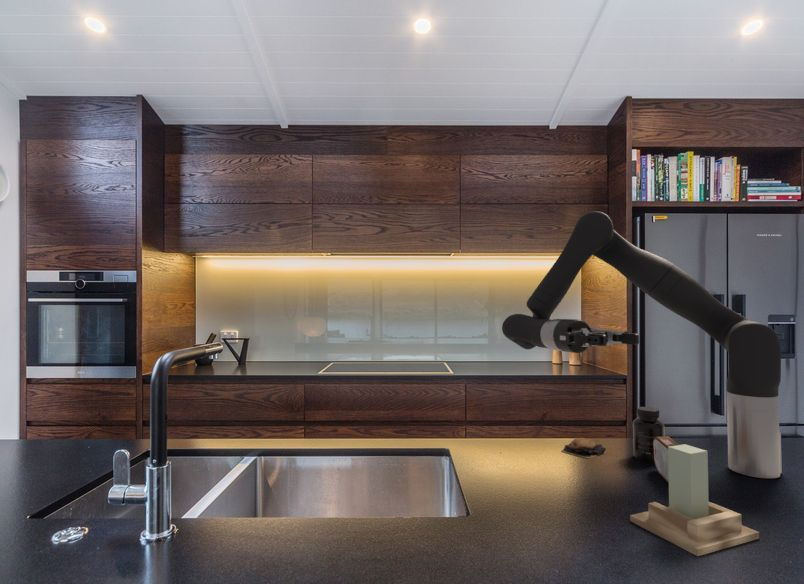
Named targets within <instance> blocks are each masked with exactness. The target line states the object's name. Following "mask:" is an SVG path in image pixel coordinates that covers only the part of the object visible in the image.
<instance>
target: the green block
mask: <svg viewBox="0 0 804 584" xmlns="http://www.w3.org/2000/svg"><path fill="white" fill-rule="evenodd" d="M708 453H709V452H708V450H706V449H702V448H699V447H696V446H692V445H689V444H685V443H683V444H679V445H676V446H670V447H668V473H669V483H668V507H669V508H670V509H672V510H675V511H677V512H679V513H681V514H684V515H686V516H688V517H690V518H693V519H698V518H702V517H706V516H709V502H710V501H709V465H708V464H709V462H708V461H709V460H708V459H709V457H708Z"/></svg>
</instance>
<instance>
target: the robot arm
mask: <svg viewBox="0 0 804 584" xmlns="http://www.w3.org/2000/svg"><path fill="white" fill-rule="evenodd" d="M592 256H594V257H596V258H597V259H599V260H601V261H602V262H604V263H606V264H607V265H610V266H611V267H613V268H614V270H617V271H618V272H619V273H620V274H621V275H622V276H623V277H625V278H626V279H627V280H628V281H630V282H631V283H632V284H633V285H635V286H636V287H637V288H638V289H640V290H641V292H643V293H645V294H646V295H647V296H648V297H650V298H652V299H653V300H654V301H656V302H657V303H658V304H660V305H661V306H663V307H665V308H666V309H668V310H669V311H671V312H673V313H674V314H676V315H678V316H679V317H681V318H683V319H685V320H687V321H688V322H691V323H692V324H694V325H695V326H697V327H698V328H700V329H701V330H702V331H704V332H705V333H706V334H707V335H709V336H710V337H711V338H712V339H713V340H715V342H717V343H718V344H719V345H720V346H721V347H722V348H724V350H725V351H727V353H728V373H727V374H728V375H727V379H726V412H727V413H726V417H727V419H726V420H727V422H726V423H727V462H728V463H727V465H728V466H727V467H728V469H729V470H731V471H733V472H735V473H737V474H741V475H744V476H748V477H753V478H759V479H777V478H780V477H781V474H782V472H783V471H782V470H783V468H782V462H783V461H782V433H781V432H782V431H781V429H780V411H779V410H780V409H779V407H780V406H779V389H780V388H779V387H780V384H781V380H782V379H781V378H782V349H781V348H782V347H781V345H782V344H781V341H780V337H779V335H778V333H777V332H776V331H775V330H774V329H773V328H772V327H771V326H770V325H768V324H765V323H763V322H757V321H753V320H751V319H749V318H747V317H745V316H743V315H742V314H739V312H736V311H734V310H733V309H731V308H730V307H727V305H725V304H723V303H722V302H720V301H719V300H718V299H717V298H716V297H714V295H712V293H710V291H709V290H707V289H706V288H705V287H704V286H703V284H701V283H700V282H699V281H697V280H696V279H695V278H694V277H693V276H691V275H690V274H689V273H687V272H686V271H684V270H683V269H681V268H680V267H678V266H677V265H675V264H674V263H672V262H671V261H669V260H668V259H665V258H664V257H661V256H659V255H657V254H655V253H652V252H649V251H647V250H645V249H641V248H639V247H637V246H636V245H634V244H632V243H631V242H629V241H628V240H627V239H626V238H624V237H623V236H622V235H620V234H619V233H618V232H617V231H616V230H615V229H614V224H613V221H612V219H611V218H610V216H609V215H608V214H606V213H604V212H602V211H596V210H595V211H590V212H587V213H585V214H583V215H582V216H581V217H580V218H578V220H577V221H576V223H575V226H574V229H573V230H572V232H571V235H570V237H569V239H568V240H567V242H566V244H565V246H564V247H563V250H562V251H561V253H560V254H559V256H558V257H557V259H556V261H555V262H554V264H552V267H550V269H549V271H547V273H546V274H545V276H544V277H543V279H542V280H541V281H540V283H539V284H538V285H537V287H536V288H535V289H534V291H533V292H532V294H531V295H530V296H529V297H528V299H527V301H526V308H528V309H529V311H530V312H531V313H532V316H531V315H528V314H522V313H513V314H510V315H508V316H507V317H506V318H505V319H504V321H503V322H502V325H501V331H502V333H503V335H504V337H506V339H508V340H509V341H511V342H513V343H515V344H516V345H517V346H518V347H520V348H522V349H525V350H532V349H534V348H535V347H537V348H542V349H551V350H553V351H558V352H563V353H564V352H566V353H572V354H573V353H574V354H582V353H584V352H586V351H587V350H588V349H589V347H606V346H607V347H608V346H609V347H610V346H613V345H614V344H616V345H617V344H620V345H633V346H634V345H635V346H636V345H639V344H640V335H639V333H632V332H631V333H630V332H629V331H626V330H624V331H621V330H620V331H618V330H617V331H616V330H613V329H605V328H604V329H602V328H601V329H600V328H598V327H591V326H589V324H588V323H587V322H586V321H584V320H583V319H577V318H576V319H573V318H572V319H571V318H553V319H551V316H552V314H553V313H554V312H555V310H556V309H557V308H558V306H559V305H560V303H561V302H562V301H563V299H564V298H565V296H566V295H567V293H568V291H569V290H570V288H571V286H572V285H573V282H574V281H575V279H576V277H577V276H578V274H579V272H580V271H581V270H582V268H583V266H584V265H585V264H586V263H587V261H588V260H589V259H590V258H591V257H592Z"/></svg>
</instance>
